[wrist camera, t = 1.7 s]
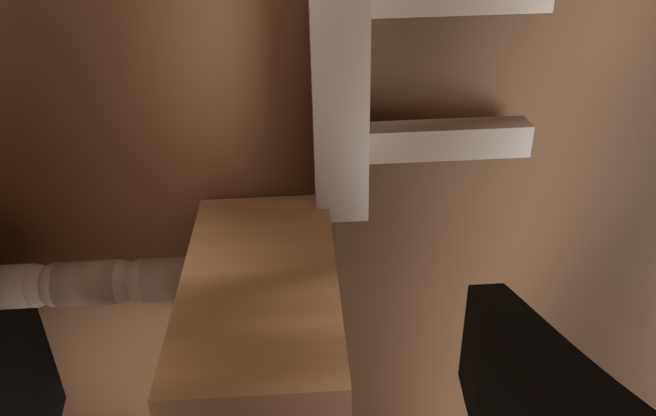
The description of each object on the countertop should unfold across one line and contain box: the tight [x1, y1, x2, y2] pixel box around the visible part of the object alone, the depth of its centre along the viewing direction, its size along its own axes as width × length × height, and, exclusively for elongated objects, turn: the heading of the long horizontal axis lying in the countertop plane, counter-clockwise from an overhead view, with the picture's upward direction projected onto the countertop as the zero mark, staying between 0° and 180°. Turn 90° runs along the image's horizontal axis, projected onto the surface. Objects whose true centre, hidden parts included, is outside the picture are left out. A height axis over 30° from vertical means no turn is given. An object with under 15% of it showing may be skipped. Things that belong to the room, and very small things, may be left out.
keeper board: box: [0, 0, 656, 416], centre depth 13 cm, size 24×12×4 cm, turn 91°
